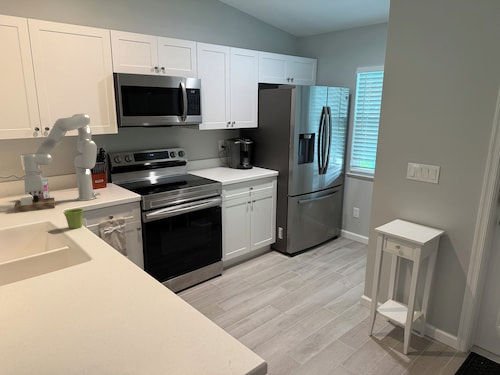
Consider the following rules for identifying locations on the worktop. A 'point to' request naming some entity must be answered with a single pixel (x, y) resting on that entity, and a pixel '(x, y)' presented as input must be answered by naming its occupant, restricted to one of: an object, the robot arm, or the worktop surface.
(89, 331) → the worktop surface
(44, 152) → the robot arm
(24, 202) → the cream block
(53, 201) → the box
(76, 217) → the plant pot
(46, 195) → the candy bar box
